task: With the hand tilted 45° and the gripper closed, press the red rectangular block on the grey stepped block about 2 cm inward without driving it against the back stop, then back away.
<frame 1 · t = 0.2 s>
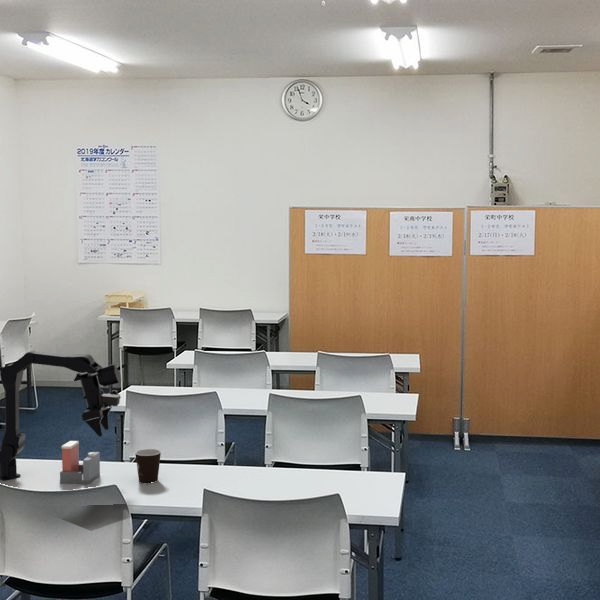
hand: (104, 432, 267), 16 cm above the table, tool pointing down, fingers open, 9 cm apart
grey stepped block: (79, 479, 265), on the table
red rectangular block: (70, 458, 265), point 7 cm above the table, slide at 0.0 cm
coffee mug: (149, 479, 266), on the table
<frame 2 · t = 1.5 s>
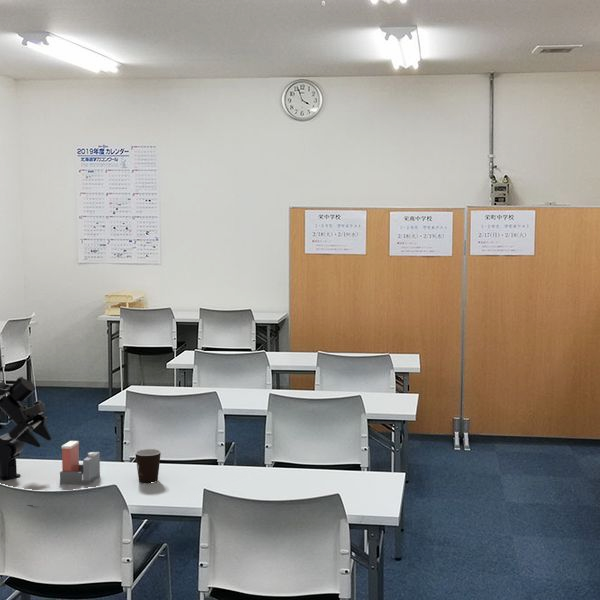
hand: (45, 443, 265), 12 cm above the table, tool tilted 45°, fingers open, 8 cm apart
nothing on the table moved.
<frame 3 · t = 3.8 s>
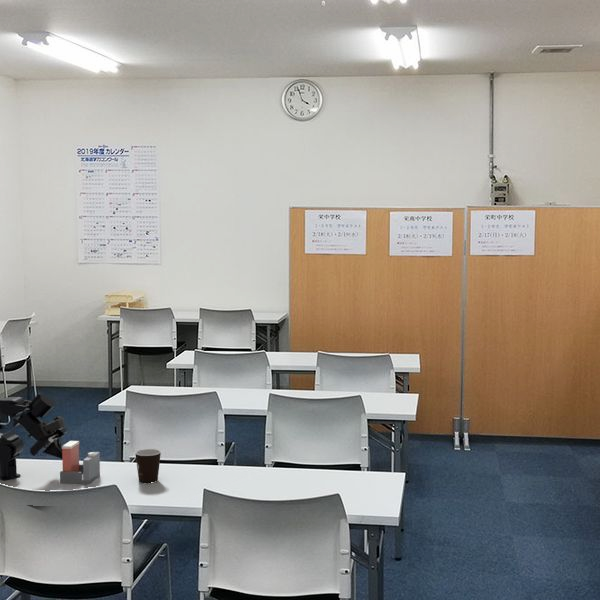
hand: (65, 458, 265), 7 cm above the table, tool tilted 45°, fingers closed, pressing on red rectangular block
red rectangular block: (70, 458, 265), point 7 cm above the table, slide at 0.1 cm, touching gripper
everything else where it was.
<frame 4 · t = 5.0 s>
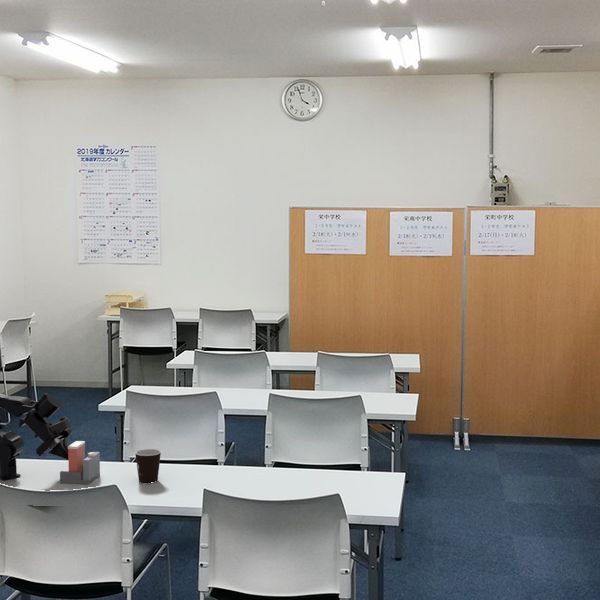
hand: (71, 459, 265), 7 cm above the table, tool tilted 45°, fingers closed
red rectangular block: (76, 459, 265), point 7 cm above the table, slide at 2.2 cm
everything else where it was.
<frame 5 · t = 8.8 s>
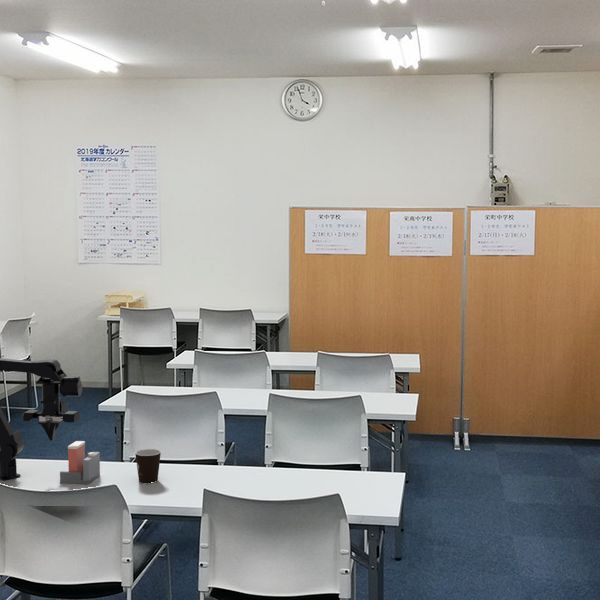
hand: (51, 440, 267), 13 cm above the table, tool pointing down, fingers closed
nothing on the table moved.
at the end: red rectangular block slide at 2.2 cm; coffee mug moved 0.2 cm from its start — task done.
